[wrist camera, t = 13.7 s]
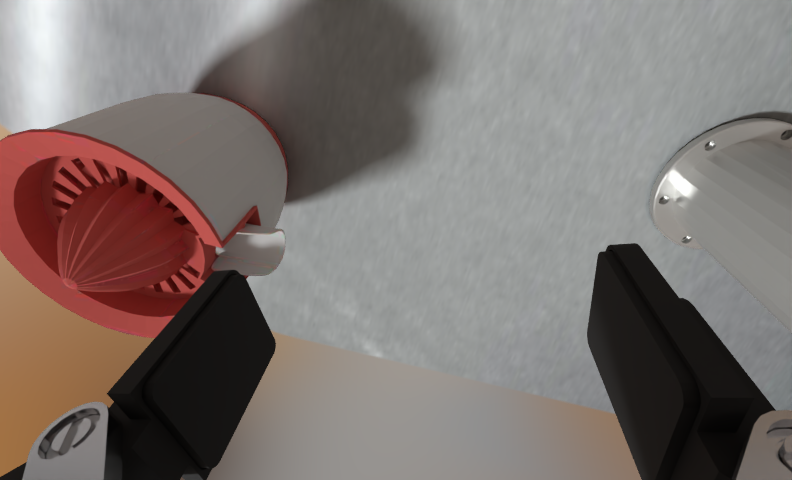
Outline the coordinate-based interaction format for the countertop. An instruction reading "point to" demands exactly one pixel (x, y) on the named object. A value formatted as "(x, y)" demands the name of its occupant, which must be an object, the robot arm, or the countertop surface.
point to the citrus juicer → (142, 205)
